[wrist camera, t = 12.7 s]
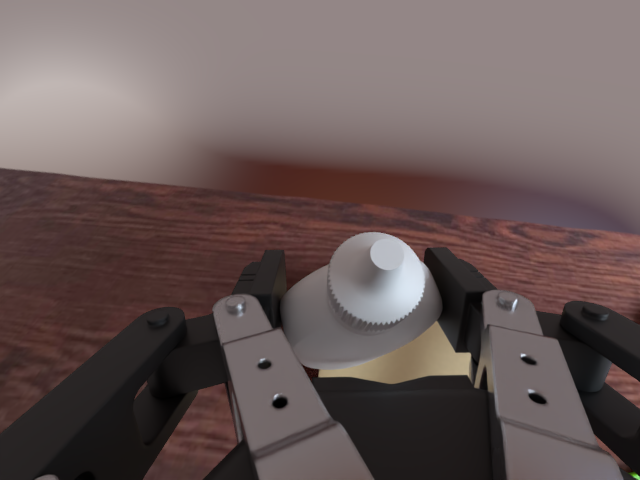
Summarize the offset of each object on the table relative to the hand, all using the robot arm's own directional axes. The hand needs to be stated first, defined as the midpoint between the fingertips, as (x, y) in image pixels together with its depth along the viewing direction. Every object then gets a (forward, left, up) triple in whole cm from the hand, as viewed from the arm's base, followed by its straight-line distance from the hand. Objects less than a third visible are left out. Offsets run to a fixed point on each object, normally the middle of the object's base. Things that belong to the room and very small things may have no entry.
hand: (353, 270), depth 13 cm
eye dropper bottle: (0, -2, -6) cm, 6 cm away
